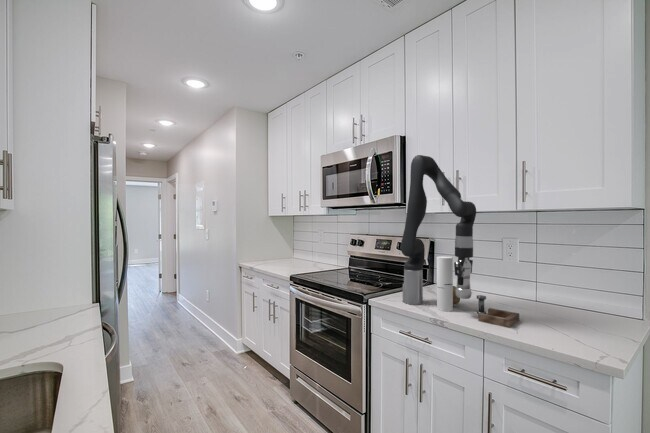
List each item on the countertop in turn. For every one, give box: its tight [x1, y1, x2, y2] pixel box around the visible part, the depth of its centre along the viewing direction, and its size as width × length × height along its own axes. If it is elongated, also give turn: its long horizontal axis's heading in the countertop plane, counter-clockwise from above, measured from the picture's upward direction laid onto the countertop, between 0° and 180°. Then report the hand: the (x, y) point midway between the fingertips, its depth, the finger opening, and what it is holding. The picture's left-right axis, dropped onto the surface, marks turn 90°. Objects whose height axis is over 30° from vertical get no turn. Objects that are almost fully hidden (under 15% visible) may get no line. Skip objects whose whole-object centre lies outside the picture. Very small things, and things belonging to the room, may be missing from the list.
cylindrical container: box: [436, 255, 454, 312], centre depth 156 cm, size 7×7×25 cm
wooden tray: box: [477, 307, 520, 329], centre depth 139 cm, size 12×13×3 cm
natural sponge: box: [453, 285, 461, 307], centre depth 163 cm, size 9×9×10 cm
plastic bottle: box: [455, 258, 472, 300], centre depth 145 cm, size 6×7×20 cm
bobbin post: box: [476, 294, 487, 315], centre depth 149 cm, size 4×4×8 cm
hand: (463, 283), depth 146 cm, fingers closed on plastic bottle, 5 cm apart
